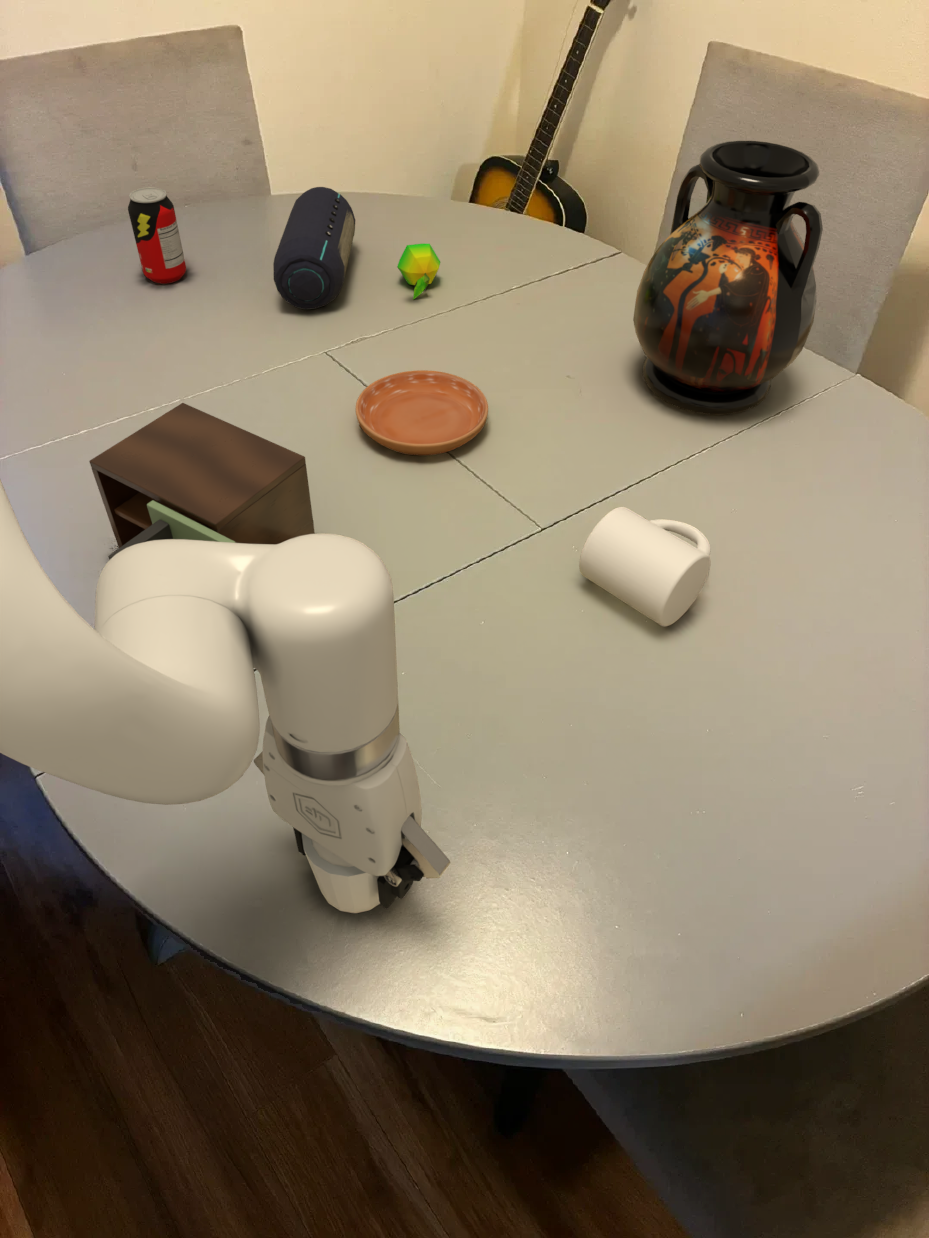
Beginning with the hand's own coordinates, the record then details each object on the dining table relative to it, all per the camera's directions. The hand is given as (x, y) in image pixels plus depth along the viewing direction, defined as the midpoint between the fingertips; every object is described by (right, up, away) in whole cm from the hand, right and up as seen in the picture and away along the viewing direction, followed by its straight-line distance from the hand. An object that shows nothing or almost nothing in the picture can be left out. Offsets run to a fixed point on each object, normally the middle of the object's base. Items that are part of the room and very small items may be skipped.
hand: (354, 864), depth 66 cm
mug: (+27, +21, +25) cm, 42 cm away
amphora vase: (+40, +49, +51) cm, 81 cm away
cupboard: (-17, +25, +26) cm, 40 cm away
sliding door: (-18, +17, +18) cm, 31 cm away
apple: (+2, +68, +68) cm, 97 cm away
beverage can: (-37, +70, +68) cm, 104 cm away
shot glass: (0, -2, +2) cm, 2 cm away
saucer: (+3, +42, +43) cm, 60 cm away
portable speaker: (-14, +70, +69) cm, 99 cm away
